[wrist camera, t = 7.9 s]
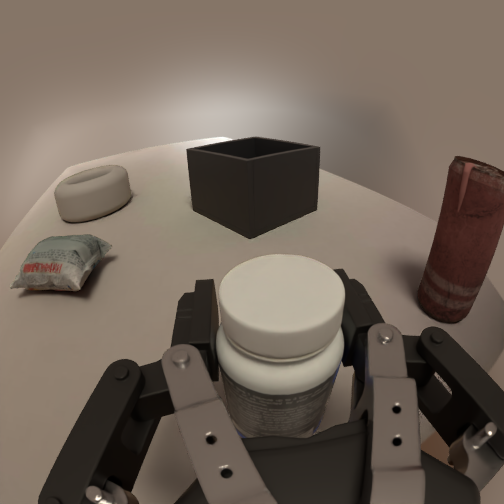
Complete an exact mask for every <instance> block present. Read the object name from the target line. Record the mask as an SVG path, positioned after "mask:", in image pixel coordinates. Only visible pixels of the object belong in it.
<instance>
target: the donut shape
mask: <svg viewBox="0 0 504 504" xmlns="http://www.w3.org/2000/svg"><path fill="white" fill-rule="evenodd" d="M54 195H55V199H56V203H57V207H58V211H59V214H60V216H61V218H62V219H64V220H65V221H68V222H83V221H88V220H92V219H96V218H99V217H102V216H105V215H107V214H110V213H112V212H114V211H116V210H118V209H119V208H121V207H122V206H124V205H125V204H126V203H127V202H128V200H129V199H130V196H131V190H130V184H129V178H128V173H127V171H126V169H125V168H123V167H122V166H118V165H108V166H101V167H96V168H92V169H89V170H85V171H82V172H79V173H77V174H74V175H72V176H70V177H68V178H66V179H64V180H63V181H61V182H60V183H59V184H58V185H57V187H56V189H55V192H54Z"/></svg>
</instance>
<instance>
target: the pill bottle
mask: <svg viewBox="0 0 504 504" xmlns="http://www.w3.org/2000/svg"><path fill="white" fill-rule="evenodd" d="M344 302H345V289H344V285H343V282H342V280H341V279H340V277H339V276H338V275H337V274H336V273H335V272H334V271H333V270H332V269H331V268H330V267H328V266H326V265H325V264H323V263H321V262H319V261H317V260H314V259H311V258H308V257H304V256H299V255H290V254H272V255H265V256H260V257H256V258H253V259H250V260H247V261H245V262H243V263H241V264H239V265H237V266H236V267H234V268H233V269H231V271H229V272H228V273H227V274H226V276H225V277H224V278H223V280H222V282H221V284H220V288H219V304H220V313H221V321H222V322H221V324H220V326H219V328H218V331H217V335H216V352H217V358H218V362H219V367H220V372H221V377H222V382H223V387H224V392H225V397H226V402H227V407H228V410H229V414H230V418H231V420H232V422H233V424H234V426H235V428H236V430H237V432H238V434H239V436H240V437H241V438H252V437H263V436H282V437H294V438H308V437H311V436H312V435H313V434H314V433H315V431H316V430H317V428H318V427H319V425H320V422H321V420H322V418H323V415H324V412H325V409H326V406H327V403H328V401H329V398H330V395H331V392H332V388H333V385H334V382H335V379H336V376H337V373H338V370H339V367H340V364H341V360H342V357H343V352H344V336H343V331H342V328H341V322H342V316H343V308H344Z"/></svg>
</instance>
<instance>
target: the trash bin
mask: <svg viewBox="0 0 504 504" xmlns="http://www.w3.org/2000/svg"><path fill="white" fill-rule="evenodd" d="M186 150H187V160H188V170H189V180H190V189H191V198H192V205H193V210H194V211H196V212H198V213H200V214H202V215H204V216H206V217H208V218H210V219H212V220H214V221H216V222H218V223H220V224H222V225H223V226H225V227H227V228H229V229H231V230H233V231H235V232H237V233H239V234H241V235H243V236H245V237H247V238H249V239H251V238H254V237H256V236H258V235H260V234H263V233H265V232H267V231H269V230H272V229H274V228H276V227H278V226H281V225H283V224H285V223H288V222H290V221H292V220H294V219H297V218H299V217H301V216H304V215H306V214H308V213H310V212H313V211H315V210H317V202H318V185H319V163H320V147H317V146H312V145H307V144H301V143H295V142H289V141H283V140H276V139H269V138H261V137H250V138H244V139H238V140H232V141H226V142H220V143H215V144H209V145H204V146H199V147H194V148H190V149H186Z"/></svg>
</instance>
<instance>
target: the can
mask: <svg viewBox="0 0 504 504" xmlns="http://www.w3.org/2000/svg"><path fill="white" fill-rule="evenodd" d="M503 225H504V171H502V170H500V169H498V168H496V167H494V166H491V165H489V164H486V163H483V162H480V161H477V160H474V159H471V158H466V157H461V156H455V158H454V160H453V162H452V163H451V165H450V166H449V171H448V177H447V183H446V188H445V194H444V198H443V203H442V208H441V213H440V217H439V221H438V225H437V229H436V233H435V236H434V240H433V244H432V247H431V251H430V254H429V258H428V261H427V264H426V267H425V270H424V274H423V277H422V280H421V283H420V285H419V288H418V299H419V303H420V305H421V307H422V308H423V310H424V311H425V312H426V313H427V314H428V315H430V316H431V317H433V318H434V319H437V320H439V321H442V322H447V323H453V322H457V321H459V320H461V319H463V318H465V317H466V316H467V315H468V313H469V311H470V309H471V307H472V305H473V303H474V301H475V299H476V297H477V295H478V292H479V290H480V288H481V286H482V283H483V281H484V279H485V276H486V274H487V271H488V269H489V266H490V264H491V261H492V258H493V256H494V253H495V250H496V247H497V244H498V241H499V238H500V235H501V232H502V229H503Z"/></svg>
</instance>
